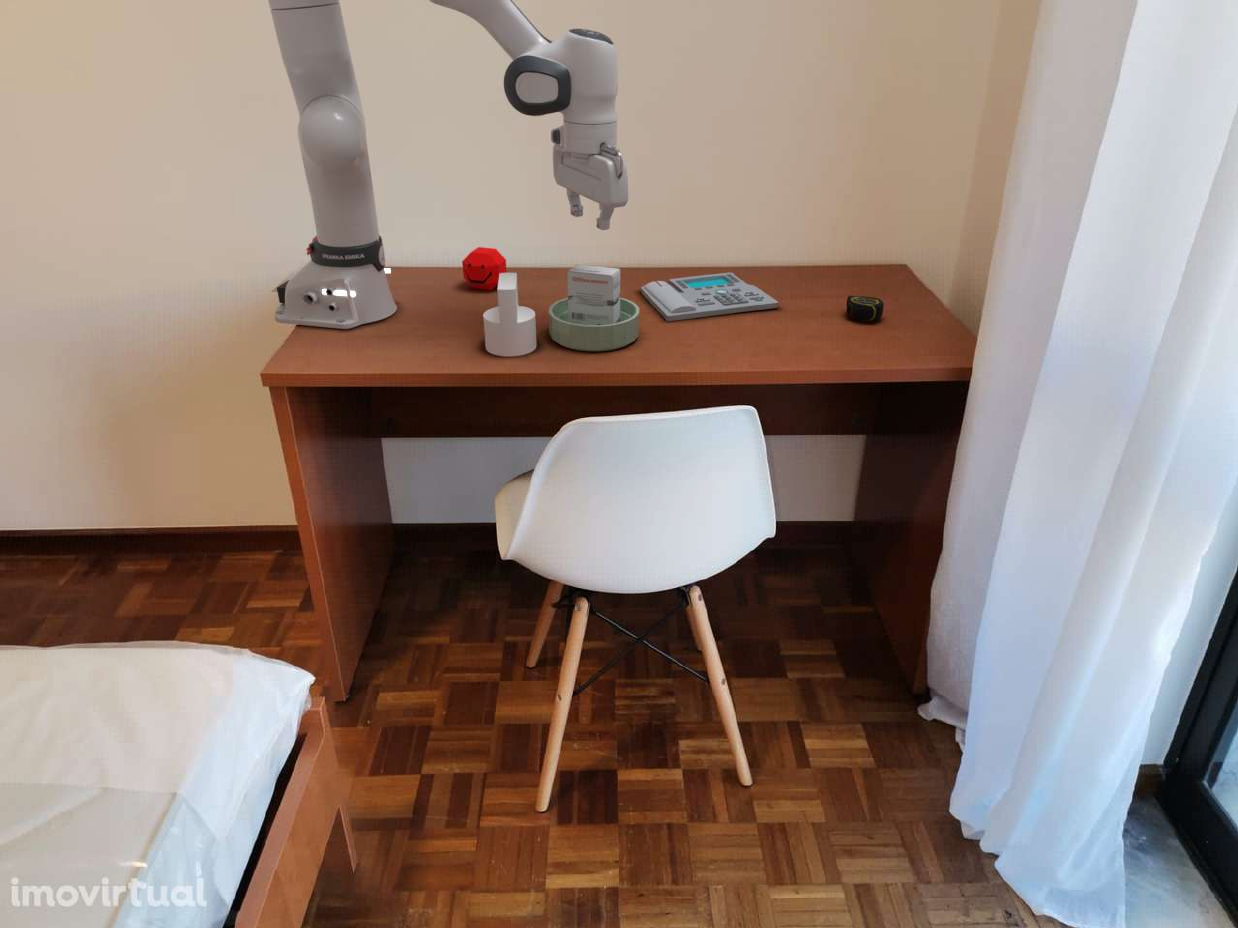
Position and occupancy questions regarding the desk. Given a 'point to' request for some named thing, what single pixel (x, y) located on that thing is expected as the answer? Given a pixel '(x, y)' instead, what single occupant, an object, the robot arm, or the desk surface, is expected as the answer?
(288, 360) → the desk surface
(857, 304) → the tape measure
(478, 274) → the ball
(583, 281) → the ink box
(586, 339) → the bowl
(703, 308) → the office telephone
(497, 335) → the base with upright slab
